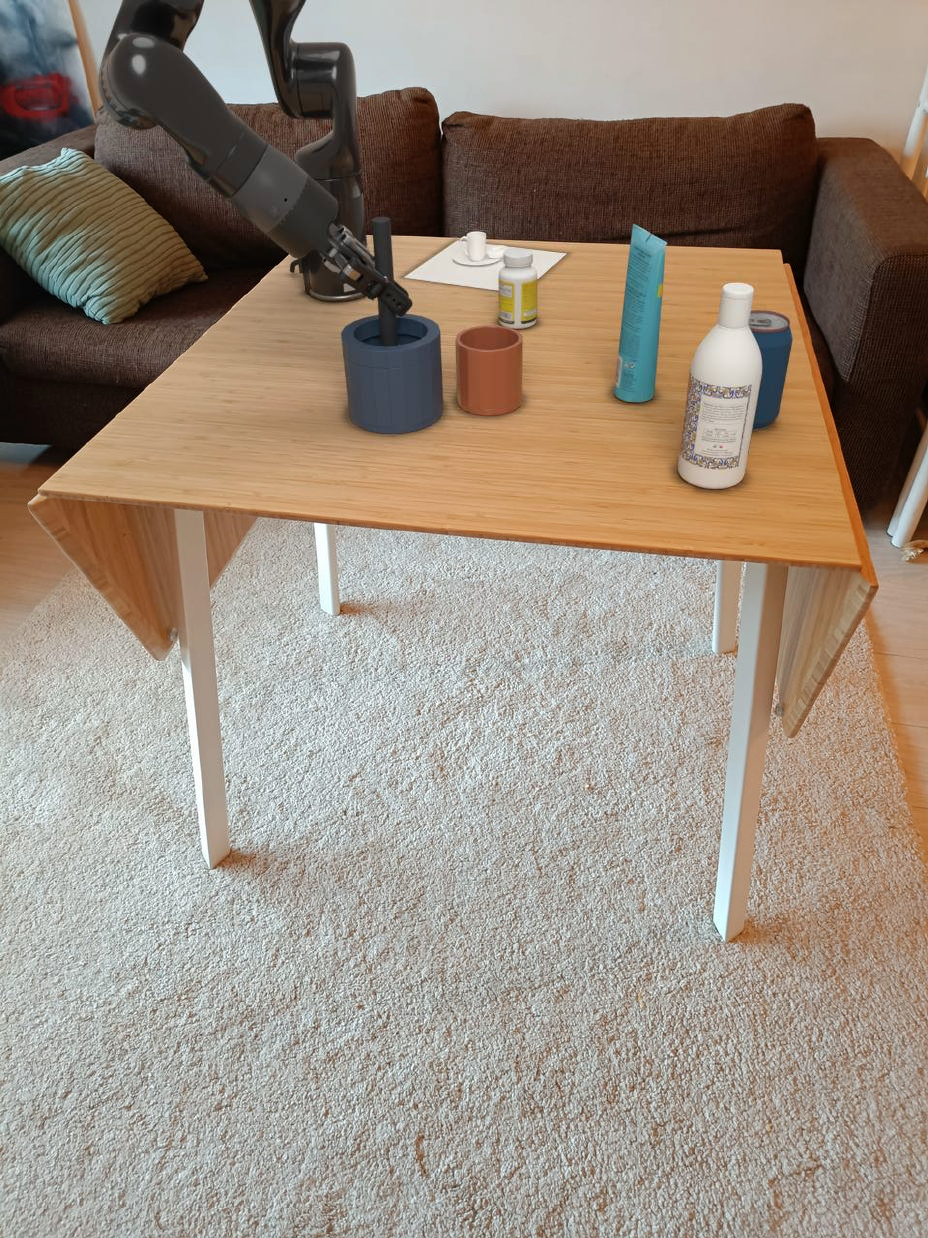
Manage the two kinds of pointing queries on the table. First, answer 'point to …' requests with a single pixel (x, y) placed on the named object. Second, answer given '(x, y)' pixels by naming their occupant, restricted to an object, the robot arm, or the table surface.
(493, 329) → the crock
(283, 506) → the table surface
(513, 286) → the supplement bottle
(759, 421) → the soda can
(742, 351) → the bath foam
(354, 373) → the jar
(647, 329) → the tube
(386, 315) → the sponge wand
